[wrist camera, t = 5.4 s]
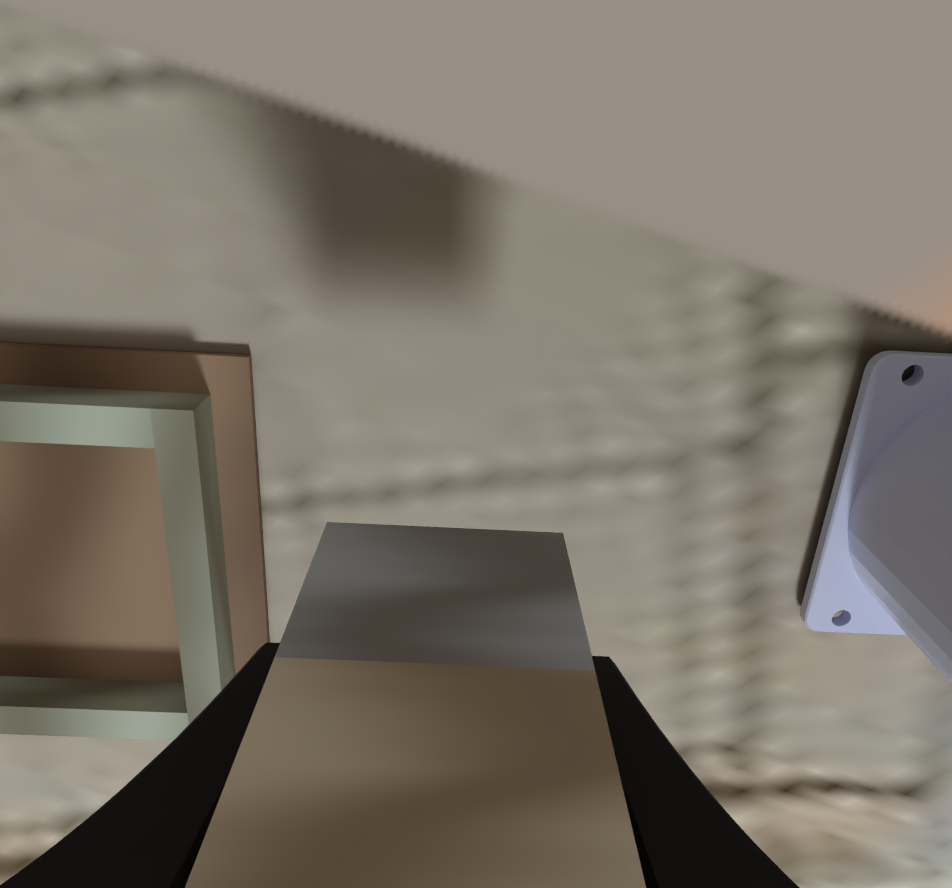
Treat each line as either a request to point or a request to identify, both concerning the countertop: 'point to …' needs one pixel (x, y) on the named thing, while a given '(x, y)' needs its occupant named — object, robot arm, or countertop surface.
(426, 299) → the countertop surface
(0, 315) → the countertop surface
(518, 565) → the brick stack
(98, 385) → the socket board
